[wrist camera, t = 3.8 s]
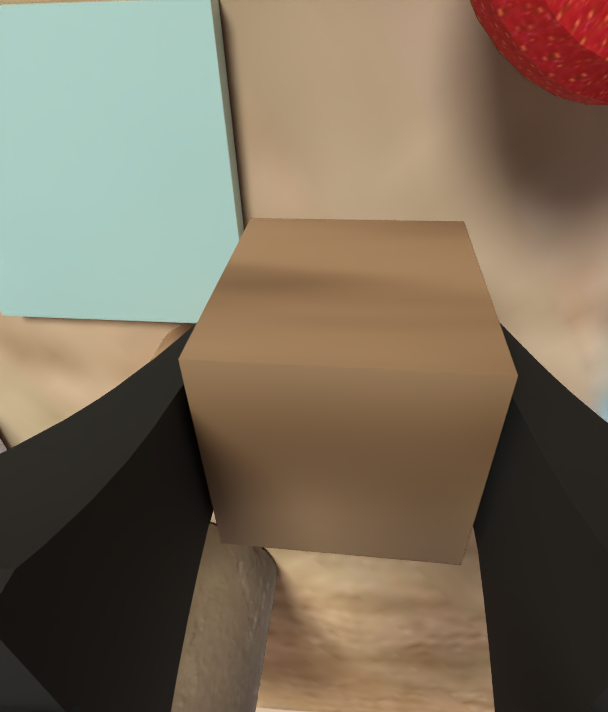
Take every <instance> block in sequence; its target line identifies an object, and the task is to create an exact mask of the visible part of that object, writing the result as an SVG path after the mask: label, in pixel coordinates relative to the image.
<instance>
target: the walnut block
mask: <svg viewBox="0 0 608 712" xmlns="http://www.w3.org/2000/svg"><path fill="white" fill-rule="evenodd" d="M178 360H179V365H180V369H181V373H182V377H183V382H184V386H185V390H186V394H187V399H188V403H189V407H190V412H191V416H192V420H193V424H194V429H195V433H196V437H197V442H198V446H199V450H200V454H201V459H202V463H203V467H204V472H205V476H206V480H207V484H208V489H209V493H210V497H211V501H212V506H213V510H214V514H215V519H216V523H217V527H218V531H219V536H220V540H221V543H223V544H234V545H245V546H256V547H267V548H278V549H289V550H300V551H311V552H323V553H334V554H345V555H356V556H367V557H378V558H389V559H400V560H412V561H423V562H434V563H445V564H456V565H461V563H462V560H463V557H464V553H465V550H466V547H467V543H468V540H469V537H470V533H471V530H472V527H473V523H474V520H475V517H476V514H477V510H478V507H479V504H480V500H481V497H482V494H483V490H484V487H485V484H486V480H487V477H488V474H489V470H490V467H491V464H492V460H493V457H494V454H495V450H496V447H497V444H498V441H499V437H500V434H501V431H502V427H503V424H504V421H505V417H506V414H507V411H508V407H509V404H510V401H511V397H512V394H513V391H514V387H515V384H516V381H517V377H518V374H517V372H516V369H515V366H514V363H513V360H512V357H511V354H510V352H509V349H508V346H507V343H506V340H505V337H504V334H503V332H502V329H501V326H500V323H499V320H498V317H497V314H496V312H495V309H494V306H493V303H492V300H491V297H490V294H489V292H488V289H487V286H486V283H485V280H484V277H483V274H482V272H481V269H480V266H479V263H478V260H477V257H476V254H475V252H474V249H473V246H472V243H471V240H470V237H469V234H468V232H467V229H466V226H465V223H464V222H459V221H396V220H334V219H271V218H251V219H250V221H249V222H248V224H247V226H246V228H245V230H244V232H243V234H242V236H241V238H240V240H239V242H238V244H237V246H236V248H235V250H234V252H233V254H232V256H231V258H230V260H229V261H228V263H227V265H226V267H225V269H224V271H223V273H222V275H221V277H220V279H219V281H218V283H217V285H216V287H215V289H214V291H213V293H212V295H211V297H210V298H209V300H208V302H207V304H206V306H205V308H204V310H203V312H202V314H201V316H200V318H199V320H198V322H197V324H196V326H195V328H194V330H193V332H192V334H191V335H190V337H189V339H188V341H187V343H186V345H185V347H184V349H183V351H182V353H181V355H180V357H179V359H178Z"/></svg>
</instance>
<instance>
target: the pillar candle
mask: <svg viewBox="0 0 608 712" xmlns="http://www.w3.org/2000/svg"><path fill="white" fill-rule="evenodd" d="M276 581H277V572H276V566H275V563H274V561H273V559H272V558H271V557H270V556H269V554H268V553H267V552H266V551H265V550H263V549H262V547H256V546H245V545H234V544H223V543H221V540H220V536H219V531H218V527H217V526H216V525H214V524H211V523H210V524H209V527H208V531H207V535H206V540H205V544H204V548H203V553H202V557H201V561H200V566H199V570H198V575H197V579H196V584H195V589H194V594H193V598H192V603H191V608H190V613H189V617H188V622H187V627H186V633H185V638H184V643H183V648H182V653H181V659H180V664H179V669H178V674H177V680H176V686H175V691H174V697H173V703H172V709H171V712H255V710H256V704H257V699H258V690H259V686H260V680H261V675H262V668H263V662H264V654H265V648H266V642H267V635H268V630H269V624H270V617H271V612H272V606H273V601H274V594H275V588H276Z"/></svg>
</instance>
